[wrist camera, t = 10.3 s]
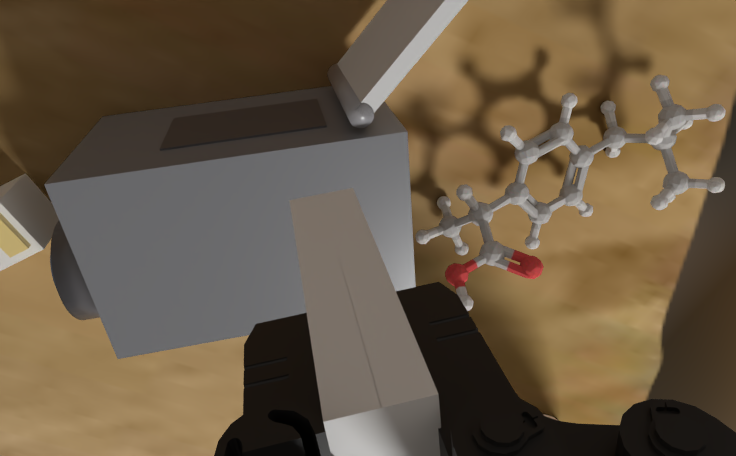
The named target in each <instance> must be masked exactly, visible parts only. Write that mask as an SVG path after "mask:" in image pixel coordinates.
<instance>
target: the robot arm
mask: <svg viewBox="0 0 736 456" xmlns="http://www.w3.org/2000/svg"><path fill="white" fill-rule="evenodd" d="M289 201H290V208H291V214H292V221H293V227H294V234H295V240H296V247H297V253H298V260H299V266H300V273H301V280H302V286H303V293H304V299H305V306H306V312H307V313H303V314H298V315H294V316H289V317H285V318H280V319H276V320H271V321H267V322H262V323H257V324H255V326H254V328H253V330H252V332H251V333H250V335H249V337H248V339H247V341H246V342H245V344H244V369H245V371H244V403H243V415H242V416H241V417H240V418H238V419H237V420H236V421H234V422H233V423H232V424H231V425H230V426H229V427H228V429H227V430H226V431H225V433H224V434H223V436H222V437H221V438H220V440H219V441H218V445H217V448H216V451H215V455H214V456H736V433H735V432H734V431H733V430H731V429H730V428H729V427H727V426H726V425H724V424H723V423H722V422H720V421H719V420H718V419H716V418H715V417H713V416H711V415H709V414H708V413H706V412H704V411H702V410H701V409H699V408H697V407H695V406H692V405H688V404H685V403H682V402H678V401H675V400H662V399H650V400H647V401H643V402H640V403H637V404H634V405H633V406H632V407H631V408H630V409H628V410H627V411H626V412H625V413H624V414H623V416H622V420H621V424H620V425H596V424H576V423H568V422H561V421H558V420H555V419H552V418H549V417H546V416H544V415H543V414H542V413H541V412H540V411H539V410H538V408H536V407H534V406H533V405H531V404H529V403H527V402H525V401H524V400H522V399H520V398H519V397H518V395H517V394H516V393H515V391H514V390H513V388H512V387H511V385H510V383H509V381H508V380H507V378H506V376H505V375H504V373H503V371H502V369H501V368H500V366H499V364H498V363H497V361H496V359H495V358H494V356H493V354H492V352H491V351H490V349H489V347H488V346H487V344H486V342H485V340H484V339H483V337H482V335H481V334H480V333H479V332H478V328H477V327H476V325H475V323H474V322H473V320H472V318H471V317H469V313H468V311H467V310H466V308H465V306H464V305H463V303H462V301H461V299H460V298H459V296H458V295H457V294H455V293H454V292H453V291H451V290H450V289H448V288H447V287H445V286H444V285H442V284H441V283H439V282H436V283H432V284H427V285H422V286H418V287H413V288H409V289H404V290H400V291H395V288H394V286H393V283H392V281H391V279H390V276H389V274H388V271H387V269H386V267H385V264H384V262H383V259H382V257H381V255H380V252H379V250H378V247H377V245H376V243H375V240H374V238H373V235H372V233H371V230H370V228H369V226H368V223H367V221H366V218H365V216H364V214H363V211H362V209H361V206H360V204H359V202H358V199H357V197H356V194H355V192H354V190H353V188H350V189H345V190H340V191H335V192H329V193H324V194H319V195H314V196H309V197H304V198H299V199H294V200H289Z"/></svg>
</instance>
